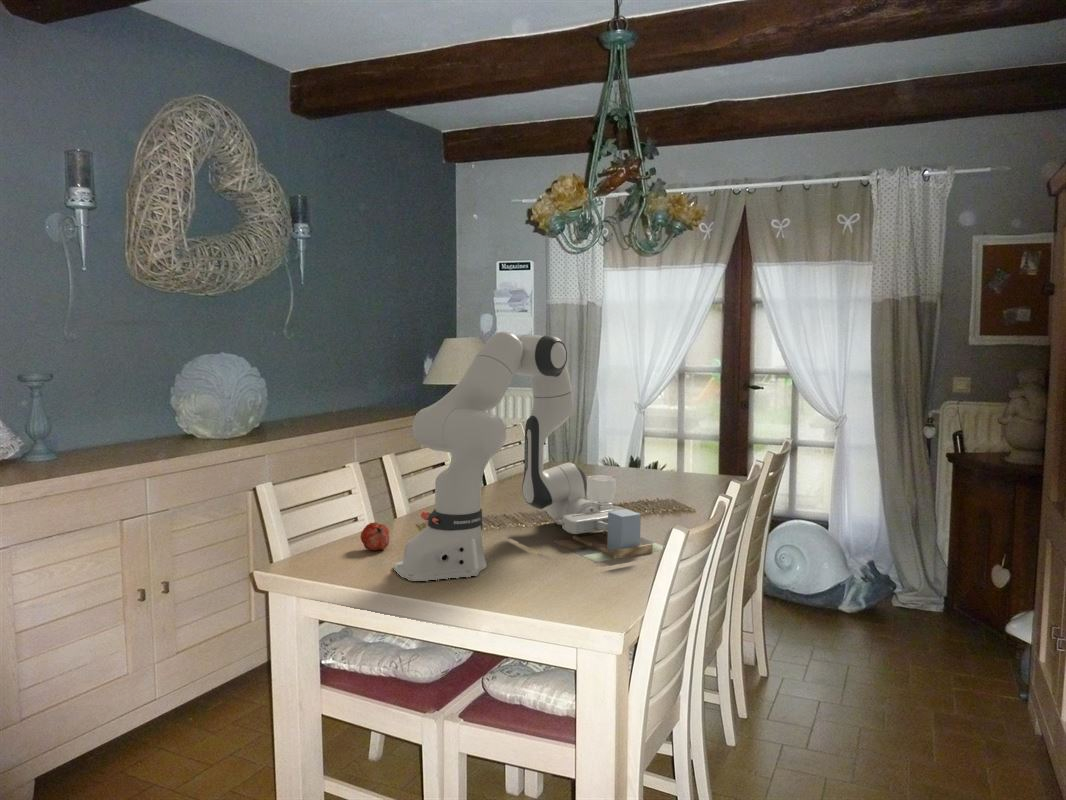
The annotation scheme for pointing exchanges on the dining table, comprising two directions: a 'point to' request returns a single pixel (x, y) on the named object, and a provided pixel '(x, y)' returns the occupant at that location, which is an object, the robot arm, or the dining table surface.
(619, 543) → the block
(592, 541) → the tray with wooden handles
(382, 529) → the pomegranate
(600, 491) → the cup
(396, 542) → the dining table surface
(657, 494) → the dining table surface
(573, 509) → the robot arm
